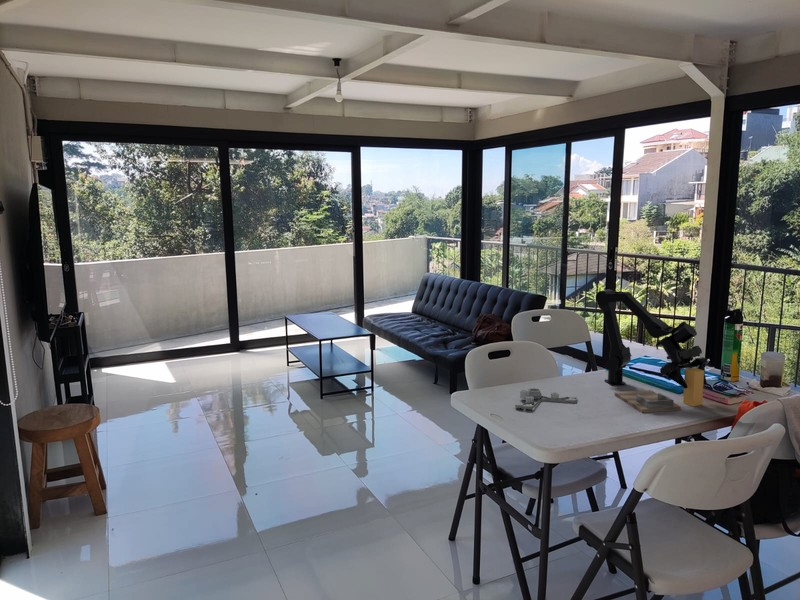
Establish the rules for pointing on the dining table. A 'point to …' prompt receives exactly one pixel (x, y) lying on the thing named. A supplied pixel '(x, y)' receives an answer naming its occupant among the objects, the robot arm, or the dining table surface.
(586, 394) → the dining table surface
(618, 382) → the robot arm
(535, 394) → the pulley system
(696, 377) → the block
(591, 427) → the dining table surface
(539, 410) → the dining table surface
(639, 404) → the keeper
